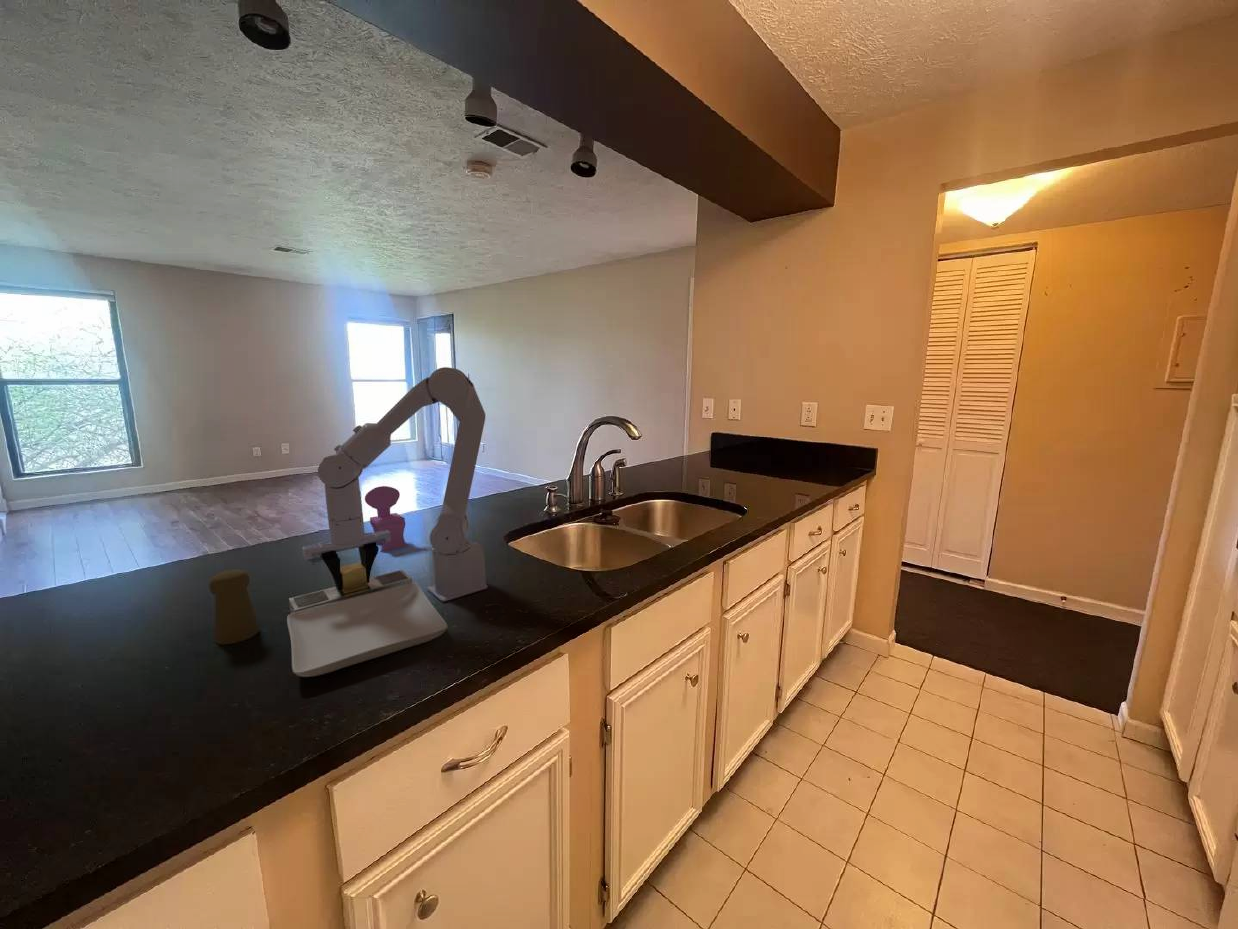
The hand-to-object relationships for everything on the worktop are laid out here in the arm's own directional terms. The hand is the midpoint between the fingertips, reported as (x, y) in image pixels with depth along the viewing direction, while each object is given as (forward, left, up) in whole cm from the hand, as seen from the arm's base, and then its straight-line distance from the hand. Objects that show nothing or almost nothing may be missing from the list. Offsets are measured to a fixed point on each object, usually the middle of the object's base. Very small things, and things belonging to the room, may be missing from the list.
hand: (352, 585), depth 93 cm
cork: (+18, +1, -3) cm, 18 cm away
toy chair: (-15, -28, -3) cm, 32 cm away
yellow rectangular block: (0, 0, -3) cm, 3 cm away
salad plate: (+2, +16, -4) cm, 17 cm away
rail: (0, 0, -3) cm, 3 cm away
